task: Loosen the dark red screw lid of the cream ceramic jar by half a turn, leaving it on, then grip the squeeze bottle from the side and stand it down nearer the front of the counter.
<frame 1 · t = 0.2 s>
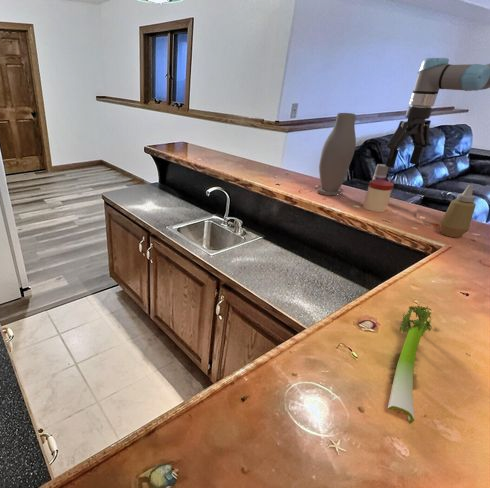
hand: (401, 165, 135), 19 cm above the counter, tool pointing down, fingers open, 13 cm apart
jar: (374, 208, 145), on the counter
lid: (381, 183, 141), point 11 cm above the counter, screwed on, not yet turned
vase: (328, 193, 163), on the counter
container: (373, 198, 157), on the counter
squeeze bottle: (450, 235, 123), on the counter
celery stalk: (408, 365, 68), on the counter
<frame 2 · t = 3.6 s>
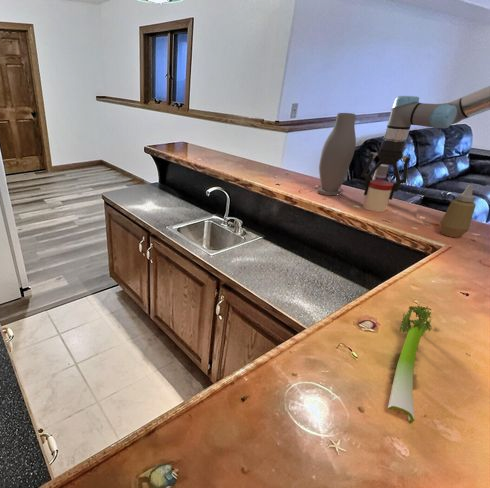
hand: (377, 196, 143), 5 cm above the counter, tool pointing down, fingers closed on lid, 8 cm apart
jar: (374, 208, 145), on the counter, touching gripper
lid: (381, 183, 141), point 11 cm above the counter, screwed on, not yet turned, touching gripper
everything else where it was.
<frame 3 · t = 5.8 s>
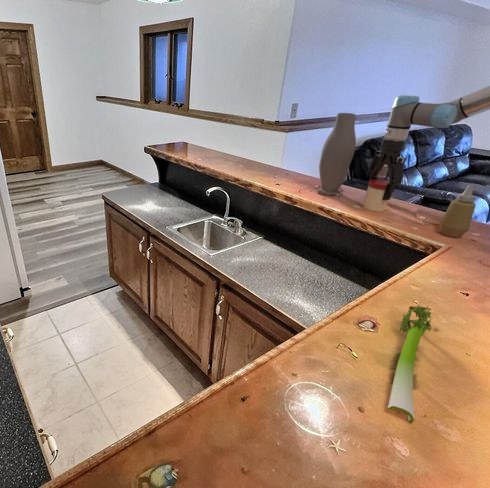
hand: (377, 196, 143), 5 cm above the counter, tool pointing down, fingers closed on lid, 8 cm apart
lid: (381, 183, 141), point 11 cm above the counter, turned 135° so far, risen 0.2 cm, still on its thread, touching gripper
everything else where it was.
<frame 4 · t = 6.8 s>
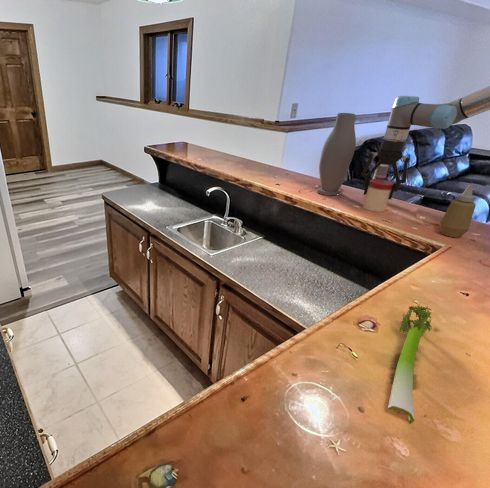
hand: (377, 196, 143), 5 cm above the counter, tool pointing down, fingers closed on lid, 8 cm apart
jar: (373, 208, 146), on the counter
lid: (381, 182, 141), point 11 cm above the counter, turned 180° so far, risen 0.2 cm, still on its thread, touching gripper
everything else where it was.
when the fingers open (5 cm above the counter, at t = 6.8 s): lid stays where it is, point 11 cm above the counter.
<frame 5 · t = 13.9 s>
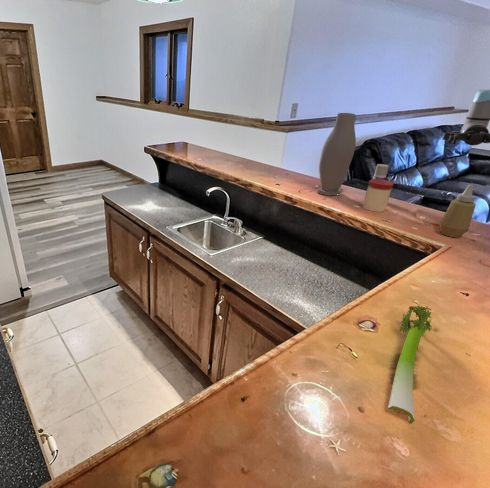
hand: (479, 142, 121), 29 cm above the counter, tool horizontal, fingers open, 13 cm apart
lid: (381, 182, 141), point 11 cm above the counter, turned 180° so far, risen 0.2 cm, still on its thread
everything else where it was.
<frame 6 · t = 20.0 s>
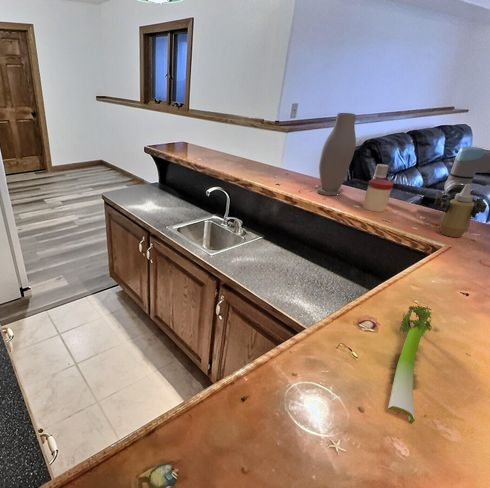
hand: (460, 211, 115), 10 cm above the counter, tool horizontal, fingers closed on squeeze bottle, 7 cm apart
squeeze bottle: (450, 234, 122), on the counter, touching gripper
everything else where it was.
when the fingers open (10 cm above the counter, at t = 27.3 s): squeeze bottle stays where it is, on the counter.
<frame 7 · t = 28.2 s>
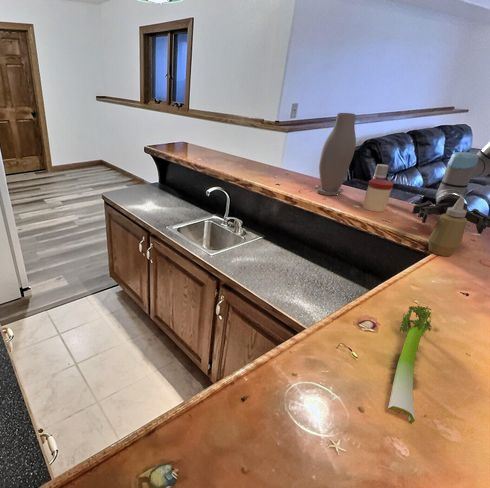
hand: (452, 224, 104), 11 cm above the counter, tool horizontal, fingers open, 13 cm apart
squeeze bottle: (439, 252, 110), on the counter
everything else where it was.
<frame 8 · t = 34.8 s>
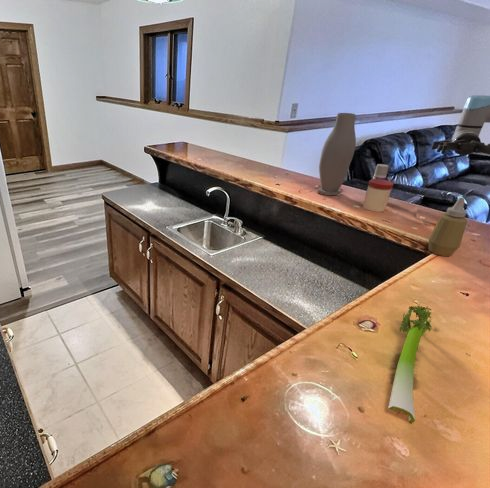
hand: (470, 152, 112), 28 cm above the counter, tool horizontal, fingers open, 13 cm apart
nothing on the counter moved.
at the end: lid turned 0.50 turns (still on its thread); lid is still on its thread (0.50 turns) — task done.
